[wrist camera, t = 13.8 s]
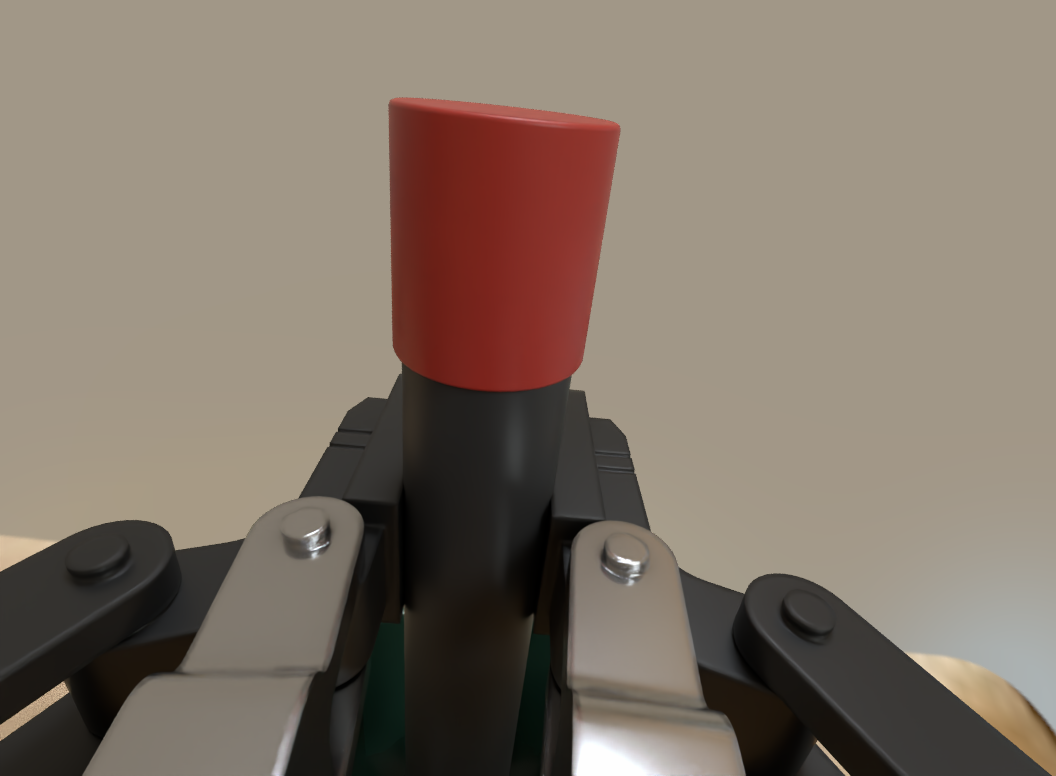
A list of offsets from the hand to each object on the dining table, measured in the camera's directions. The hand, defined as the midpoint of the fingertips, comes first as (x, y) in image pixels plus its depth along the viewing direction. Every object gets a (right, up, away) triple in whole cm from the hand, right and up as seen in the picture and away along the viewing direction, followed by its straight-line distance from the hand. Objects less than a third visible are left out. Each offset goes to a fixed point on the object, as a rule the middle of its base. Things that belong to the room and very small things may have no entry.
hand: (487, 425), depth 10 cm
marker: (-1, -8, +1) cm, 8 cm away
